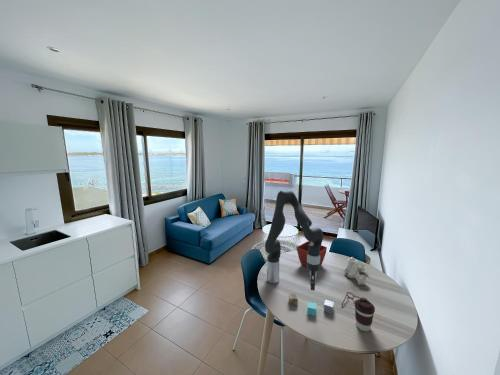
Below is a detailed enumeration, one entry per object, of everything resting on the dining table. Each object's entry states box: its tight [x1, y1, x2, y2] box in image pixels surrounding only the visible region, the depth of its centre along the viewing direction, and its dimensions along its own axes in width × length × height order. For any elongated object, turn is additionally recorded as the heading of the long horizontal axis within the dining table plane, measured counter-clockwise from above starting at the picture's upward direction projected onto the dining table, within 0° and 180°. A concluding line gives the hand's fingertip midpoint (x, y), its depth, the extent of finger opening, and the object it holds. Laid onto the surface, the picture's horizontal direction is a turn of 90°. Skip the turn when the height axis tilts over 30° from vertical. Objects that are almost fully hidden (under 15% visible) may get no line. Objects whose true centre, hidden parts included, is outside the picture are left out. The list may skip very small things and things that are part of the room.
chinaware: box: [343, 256, 369, 286], centre depth 160 cm, size 28×17×17 cm, turn 160°
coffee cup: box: [354, 298, 376, 332], centre depth 114 cm, size 10×10×15 cm
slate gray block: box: [323, 299, 335, 315], centre depth 128 cm, size 5×5×5 cm
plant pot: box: [296, 240, 328, 268], centre depth 178 cm, size 19×19×17 cm
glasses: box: [340, 291, 368, 308], centre depth 130 cm, size 13×13×5 cm
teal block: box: [306, 301, 317, 317], centre depth 126 cm, size 5×5×5 cm
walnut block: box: [288, 292, 299, 307], centre depth 135 cm, size 5×5×5 cm
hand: (312, 285), depth 124 cm, fingers open, 8 cm apart
